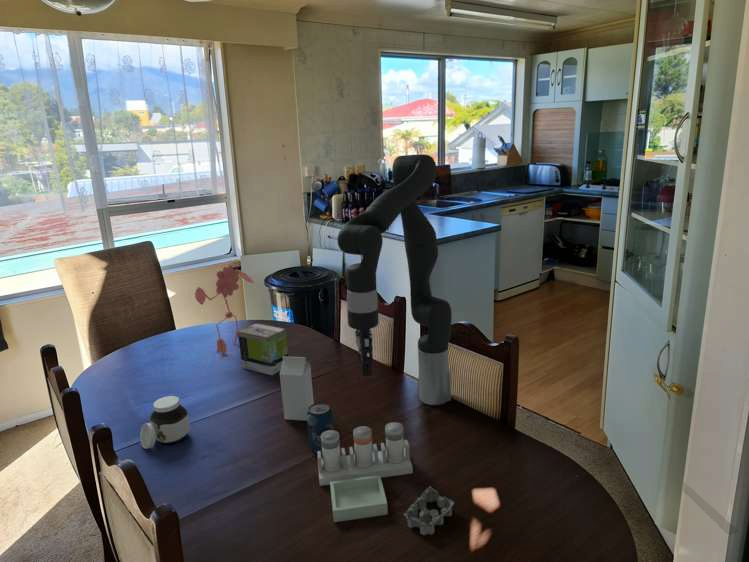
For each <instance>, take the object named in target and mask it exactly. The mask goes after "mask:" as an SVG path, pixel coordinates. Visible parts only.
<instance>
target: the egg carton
mask: <svg viewBox="0 0 749 562" xmlns="http://www.w3.org/2000/svg"><path fill="white" fill-rule="evenodd" d="M433 502H436V503H437V507H438V508H439V509H440V513H441V514H440V513H439V510H438V509H430V510H429V508H427V504H428V503H433ZM454 504H455V501H454V500H452V499H451V498H447V497H446V496H445V495H444V496H441V495H440V493H439V491H438V490H436V489H434V488H433V487H432V485H430V486H428V487H427V488H426V489H424V491H422V492H421V496H419V497H417V499H416V500H415V501H414V502H413V503H412V504H411V505H410V506H409V507H408V509H407V510H406V512H404V513H403V516H405V519H407V520H406V521H407V527H408V528H409V529H413V528H419V531H420V532H419V533H420V535H423V536H426V535H434V533H435V526H442V525H443V524H444V517H451V516H452V515H453V512H452V511H453V505H454ZM419 511H420V512H419ZM418 512H419V513H418ZM418 516H419V517H418Z"/></svg>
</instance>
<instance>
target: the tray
mask: <svg viewBox="0 0 749 562" xmlns="http://www.w3.org/2000/svg"><path fill="white" fill-rule="evenodd" d="M383 485H384V484H383V482H382V478H381V476H380V475H377V476H369V477H362V478H354V479H347V480H340V481H332V482H330V485H329V486H330V487H329V488H330V495H331V496H330V497H331V505H332V506H331V507H332V508H331V509H332V516H333V523H337V522H345V521H351V520H352V521H353V520H359V519H360V520H361V519H364V518H372V517H378V516H386V515H389V513H388V510H389V509H388V502H387V497H386V494H385V493H386V492H385V488H384V486H383Z"/></svg>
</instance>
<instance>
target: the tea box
mask: <svg viewBox="0 0 749 562" xmlns="http://www.w3.org/2000/svg"><path fill="white" fill-rule="evenodd" d="M238 337H239V338H238ZM238 337H237V338H238V345H239V351H240V357H241V358H240V359H241V366H242V367H241V368H243V369H246V370H250V371H253V372H257V373H261V374H264V375H265V374H266V375H269V376H274V375H275V374H277V373H280V370H281V366H282V361H283V356H284V357H289V350H288V341H287V340H288V337H287V330H286V328H283V327H278V326H272V325H268V324H263V323H258V322H257V323H254V324H251V325H249V326H247V327H245V328H243V329H240V330H238Z"/></svg>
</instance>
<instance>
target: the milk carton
mask: <svg viewBox="0 0 749 562" xmlns="http://www.w3.org/2000/svg"><path fill="white" fill-rule="evenodd" d="M279 379H280V390H281V397H282V398H281V399H282V407H283V416H284V420H290V421H292V420H293V421H306V422H307V413H308V409H309V407H310V406H311V405H313V404H315V401H314V391H313V382H312V381H313V380H312V370H311V364H310V363H309V362H308V361H307V359H306V357H305V356H288V357H284V356H283V361H282V366H281V370H280V371H279Z"/></svg>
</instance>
